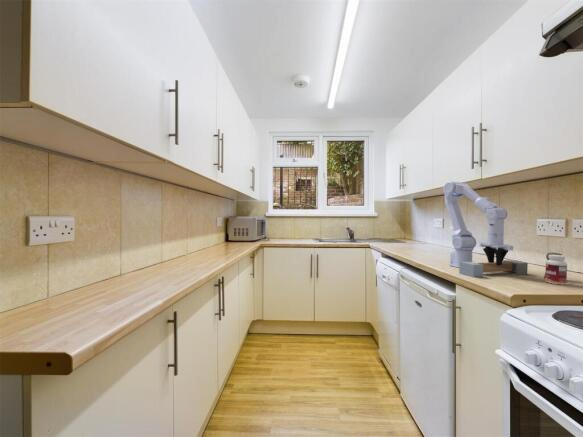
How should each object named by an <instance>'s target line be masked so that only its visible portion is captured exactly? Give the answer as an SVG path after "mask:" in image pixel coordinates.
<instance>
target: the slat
mask: <svg viewBox="0 0 583 437" xmlns="http://www.w3.org/2000/svg"><path fill="white" fill-rule="evenodd" d="M477 263H478V264H483V273H488V272H489V273H490V272H492V273H493V272H496V273H497V272H503V271H512V263H508V262H502V265H496V261H494V262H477Z"/></svg>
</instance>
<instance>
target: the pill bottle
mask: <svg viewBox="0 0 583 437" xmlns="http://www.w3.org/2000/svg"><path fill="white" fill-rule="evenodd" d="M548 258H549V260H547V259H546V261H545V271H544V276H545V278H544V282H545V283H547V282H548V284H551V283H552V285H557V284H561V285H560V286H564V285H567V278H568V276H567V275H568V262H566V261H565V259H566V256H565V255H563V254H562V255H549V257H548Z"/></svg>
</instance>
